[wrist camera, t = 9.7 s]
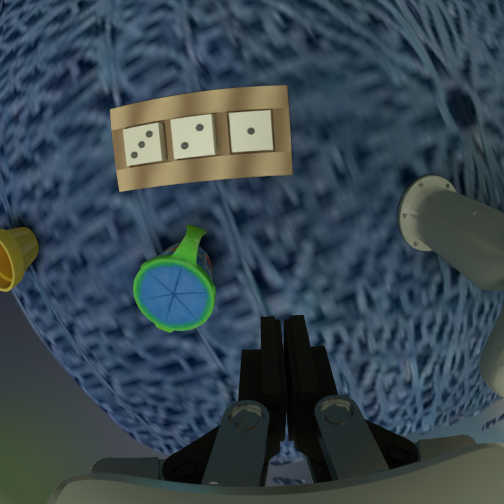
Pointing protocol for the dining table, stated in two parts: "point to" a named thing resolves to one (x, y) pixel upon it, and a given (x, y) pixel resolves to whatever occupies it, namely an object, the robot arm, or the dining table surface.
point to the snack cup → (177, 285)
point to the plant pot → (15, 255)
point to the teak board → (225, 160)
